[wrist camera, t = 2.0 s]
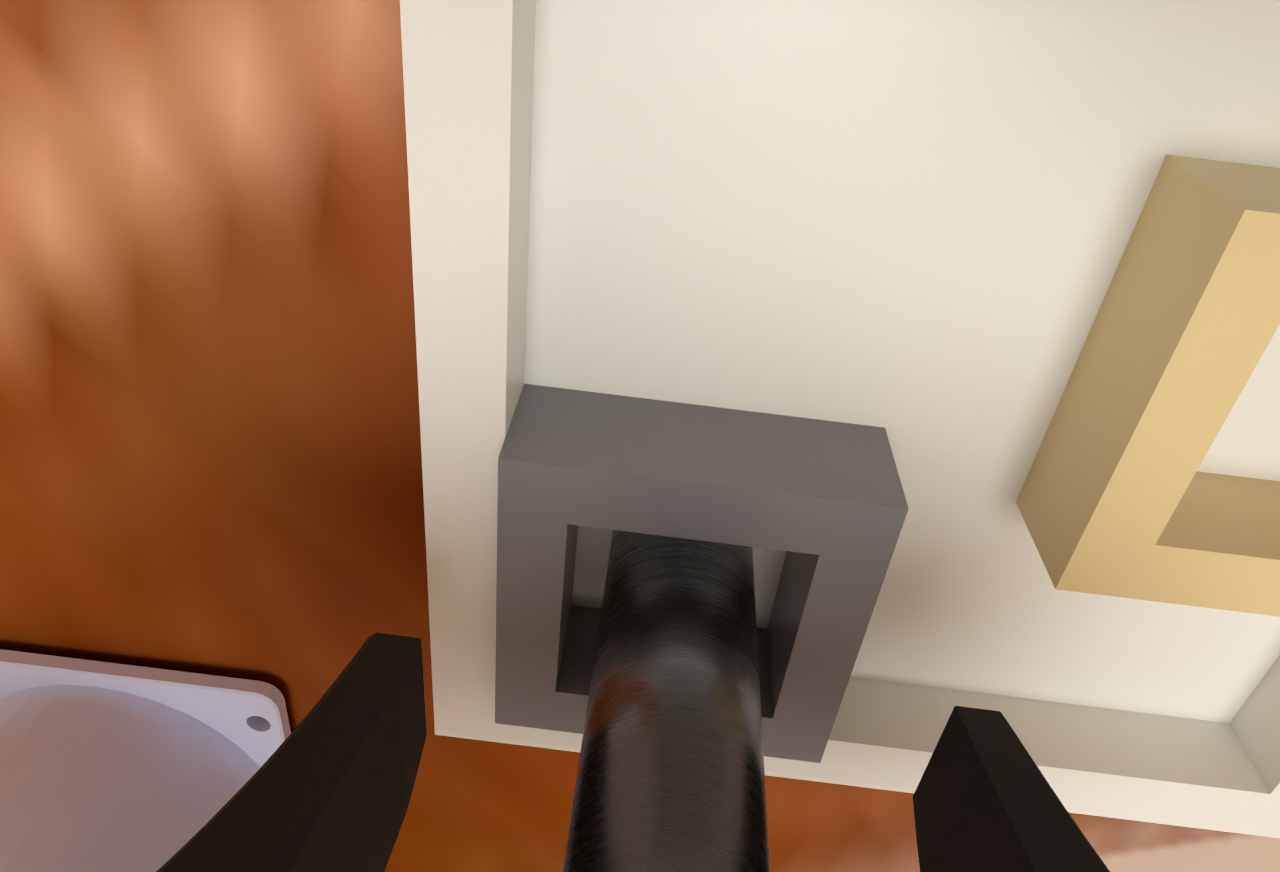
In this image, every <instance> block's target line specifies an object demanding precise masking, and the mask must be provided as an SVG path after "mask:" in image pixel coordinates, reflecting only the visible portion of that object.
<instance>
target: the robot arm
mask: <svg viewBox="0 0 1280 872" xmlns="http://www.w3.org/2000/svg"><path fill="white" fill-rule="evenodd" d="M425 739H426V718H425V701H424V684H423V667H422V649H421V639H420V638H412V637H404V636H396V635H388V634H380V633H375V634H374V635H372V636H370V637H369V638H368V639H367V640H366V642H365V643H364V644H363V646H362V647H361V648H360V650H359V651H358V652H357V654H356V655H355V656H354V658H353V659H352V660H351V661H350V663H349V664H348V665H347V667H346V668H345V669H344V671H343V672H342V673H341V674H340V676H339V677H338V678H337V679H336V681H335V682H334V683H333V684H332V686H331V687H330V688H329V689H328V691H327V692H326V693H325V694H324V695H323V697H322V698H321V699H320V700H319V701H318V703H317V704H316V705H315V706H314V707H313V709H312V710H311V711H310V712H309V713H308V715H307V716H306V717H305V718H304V719H303V720H302V722H301V723H300V724H299V725H298V726H297V727H296V728H295V729H294V731H293V732H292V733H291V730H290V725H289V720H288V715H287V709H286V704H285V699H284V697H283V695H282V693H281V691H280V690H278V689H277V688H276V687H275V686H273V685H271V684H269V683H267V682H263V681H258V680H250V679H241V678H233V677H225V676H217V675H209V674H201V673H192V672H184V671H176V670H168V669H160V668H152V667H143V666H135V665H127V664H119V663H111V662H103V661H94V660H86V659H78V658H70V657H62V656H54V655H45V654H37V653H29V652H21V651H13V650H5V649H0V872H384V871H385V868H386V865H387V863H388V860H389V857H390V855H391V852H392V849H393V846H394V844H395V841H396V838H397V836H398V833H399V830H400V828H401V825H402V822H403V820H404V817H405V814H406V811H407V808H408V804H409V801H410V797H411V793H412V790H413V786H414V782H415V778H416V775H417V771H418V767H419V763H420V759H421V755H422V751H423V747H424V743H425ZM913 803H914V814H915V826H916V837H917V846H918V855H919V863H920V872H1110V871H1109V870H1108V868H1107V867H1106V865H1105V864H1104V863H1103V861H1102V860H1101V858H1100V857H1099V856H1098V854H1097V853H1096V852H1095V850H1094V849H1093V847H1092V846H1091V845H1090V843H1089V842H1088V840H1087V839H1086V838H1085V836H1084V835H1083V833H1082V832H1081V830H1080V829H1079V827H1078V826H1077V825H1076V823H1075V822H1074V820H1073V819H1072V817H1071V816H1070V814H1069V813H1068V811H1067V810H1066V808H1065V807H1064V805H1063V804H1062V803H1061V801H1060V800H1059V798H1058V797H1057V795H1056V794H1055V792H1054V791H1053V789H1052V788H1051V786H1050V785H1049V783H1048V782H1047V780H1046V779H1045V777H1044V776H1043V774H1042V773H1041V771H1040V770H1039V768H1038V767H1037V765H1036V764H1035V762H1034V761H1033V759H1032V758H1031V756H1030V755H1029V753H1028V751H1027V750H1026V748H1025V747H1024V745H1023V744H1022V742H1021V741H1020V739H1019V738H1018V736H1017V735H1016V733H1015V732H1014V730H1013V729H1012V727H1011V726H1010V724H1009V723H1008V721H1007V720H1006V718H1005V717H1004V716H1003V714H1002V713H1001V712H1000V711H994V710H986V709H978V708H970V707H962V706H954V709H953V711H952V713H951V715H950V717H949V719H948V722H947V724H946V726H945V728H944V730H943V732H942V735H941V737H940V739H939V741H938V743H937V745H936V748H935V750H934V752H933V754H932V756H931V758H930V761H929V763H928V765H927V767H926V769H925V771H924V773H923V776H922V778H921V780H920V782H919V784H918V786H917V789H916V791H915V793H914V795H913Z"/></svg>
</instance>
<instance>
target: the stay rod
mask: <svg viewBox="0 0 1280 872" xmlns="http://www.w3.org/2000/svg"><path fill="white" fill-rule="evenodd" d="M563 872H770V865H769V847H768V828H767V810H766V791H765V773H764V754H763V736H762V717H761V699H760V680H759V662H758V643H757V625H756V606H755V588H754V569H753V551H752V547H750V546H741V545H733V544H725V543H717V542H709V541H701V540H692V539H684V538H676V537H668V536H660V535H651V534H643V533H635V532H627V531H619V530H613V533H612V540H611V547H610V554H609V560H608V567H607V574H606V581H605V588H604V595H603V601H602V608H601V615H600V622H599V629H598V636H597V642H596V649H595V656H594V663H593V670H592V677H591V683H590V690H589V697H588V704H587V711H586V718H585V724H584V731H583V738H582V745H581V752H580V759H579V766H578V772H577V779H576V786H575V793H574V800H573V807H572V813H571V820H570V827H569V834H568V841H567V848H566V854H565V861H564V868H563Z"/></svg>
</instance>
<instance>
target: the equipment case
mask: <svg viewBox="0 0 1280 872" xmlns="http://www.w3.org/2000/svg"><path fill="white" fill-rule="evenodd" d="M400 15H401V36H402V57H403V78H404V99H405V120H406V141H407V162H408V183H409V203H410V224H411V245H412V266H413V287H414V308H415V329H416V350H417V371H418V392H419V413H420V434H421V455H422V476H423V496H424V517H425V538H426V559H427V580H428V601H429V622H430V643H431V664H432V685H433V706H434V727H435V735H442V736H450V737H458V738H466V739H474V740H482V741H491V742H499V743H507V744H515V745H523V746H531V747H540V748H548V749H556V750H564V751H572V752H581V745H582V738H583V731H584V724H585V718H586V711H587V704H588V697H589V690H590V683H591V677H592V670H593V663H594V656H595V649H596V642H597V636H598V629H599V622H600V615H601V608H602V601H603V595H604V588H605V581H606V574H607V567H608V560H609V554H610V547H611V540H612V533H613V530H619V531H627V532H635V533H643V534H651V535H660V536H668V537H676V538H684V539H692V540H701V541H709V542H717V543H725V544H733V545H741V546H750V547H752V551H753V569H754V588H755V606H756V625H757V643H758V662H759V680H760V699H761V717H762V736H763V754H764V773H765V775H768V776H776V777H784V778H792V779H801V780H809V781H817V782H825V783H833V784H841V785H850V786H858V787H866V788H874V789H882V790H890V791H899V792H907V793H915V791H916V789H917V786H918V784H919V782H920V780H921V778H922V776H923V773H924V771H925V769H926V767H927V765H928V763H929V761H930V758H931V756H932V754H933V752H934V750H935V748H936V745H937V743H938V741H939V739H940V737H941V735H942V732H943V730H944V728H945V726H946V724H947V722H948V719H949V717H950V715H951V713H952V711H953V709H954V706H962V707H970V708H978V709H986V710H994V711H1000V712H1001V713H1002V714H1003V716H1004V717H1005V718H1006V720H1007V721H1008V723H1009V724H1010V726H1011V727H1012V729H1013V730H1014V732H1015V733H1016V735H1017V736H1018V738H1019V739H1020V741H1021V742H1022V744H1023V745H1024V747H1025V748H1026V750H1027V751H1028V753H1029V755H1030V756H1031V758H1032V759H1033V761H1034V762H1035V764H1036V765H1037V767H1038V768H1039V770H1040V771H1041V773H1042V774H1043V776H1044V777H1045V779H1046V780H1047V782H1048V783H1049V785H1050V786H1051V788H1052V789H1053V791H1054V792H1055V794H1056V795H1057V797H1058V798H1059V800H1060V801H1061V803H1062V804H1063V805H1064V807H1065V808H1066V810H1067V811H1068V812H1070V813H1078V814H1086V815H1094V816H1103V817H1111V818H1119V819H1127V820H1135V821H1143V822H1152V823H1160V824H1168V825H1176V826H1184V827H1192V828H1201V829H1209V830H1217V831H1225V832H1233V833H1241V834H1249V835H1258V836H1267V837H1274V838H1280V0H400Z"/></svg>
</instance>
